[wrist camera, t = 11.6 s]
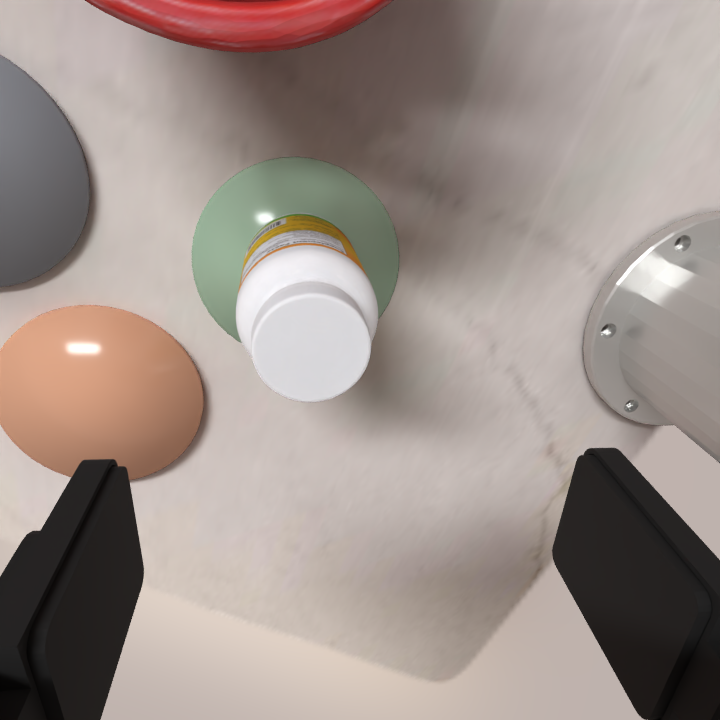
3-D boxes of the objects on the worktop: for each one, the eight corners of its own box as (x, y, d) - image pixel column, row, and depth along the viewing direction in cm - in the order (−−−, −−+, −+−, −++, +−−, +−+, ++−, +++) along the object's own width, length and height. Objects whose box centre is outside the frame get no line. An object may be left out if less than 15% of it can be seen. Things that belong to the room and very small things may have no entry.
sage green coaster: (338, 113, 24) (340, 114, 24) (426, 296, 29) (430, 301, 28) (150, 221, 25) (146, 225, 25) (264, 382, 30) (263, 389, 29)
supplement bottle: (345, 323, 28) (377, 426, 19) (239, 311, 27) (223, 415, 18) (364, 219, 26) (408, 284, 17) (249, 201, 25) (235, 261, 16)
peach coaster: (135, 268, 26) (131, 273, 25) (238, 426, 30) (237, 434, 30) (-50, 356, 26) (-59, 363, 25) (79, 500, 31) (74, 509, 30)
